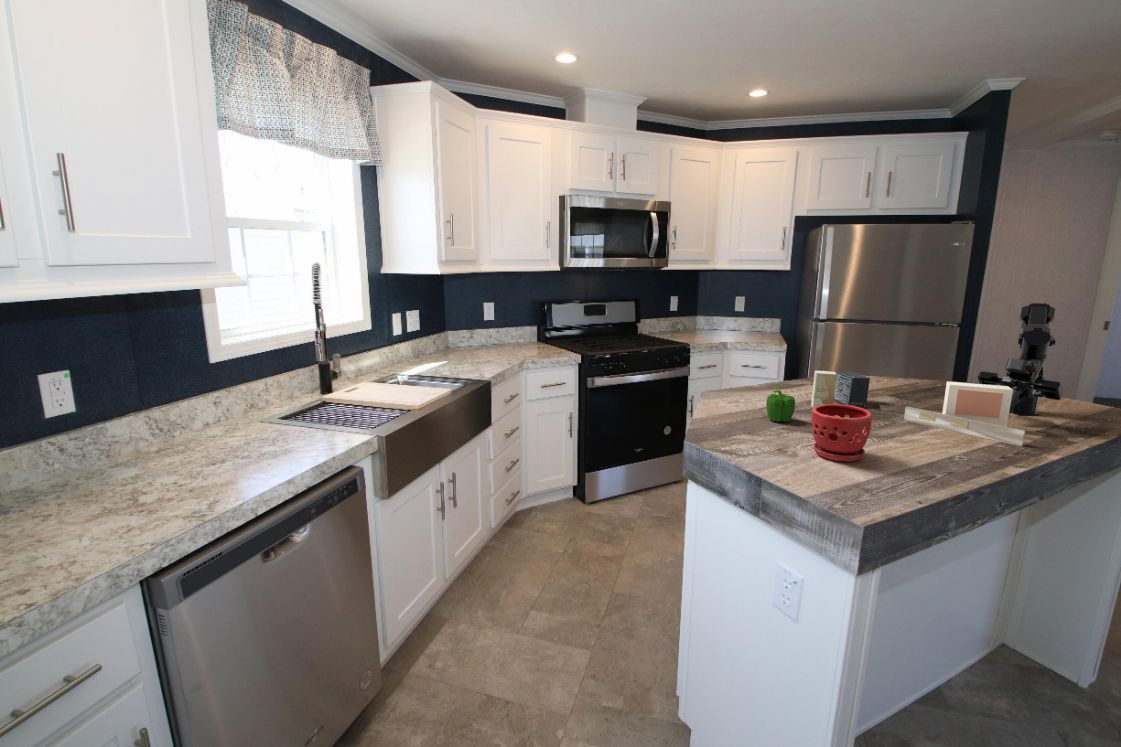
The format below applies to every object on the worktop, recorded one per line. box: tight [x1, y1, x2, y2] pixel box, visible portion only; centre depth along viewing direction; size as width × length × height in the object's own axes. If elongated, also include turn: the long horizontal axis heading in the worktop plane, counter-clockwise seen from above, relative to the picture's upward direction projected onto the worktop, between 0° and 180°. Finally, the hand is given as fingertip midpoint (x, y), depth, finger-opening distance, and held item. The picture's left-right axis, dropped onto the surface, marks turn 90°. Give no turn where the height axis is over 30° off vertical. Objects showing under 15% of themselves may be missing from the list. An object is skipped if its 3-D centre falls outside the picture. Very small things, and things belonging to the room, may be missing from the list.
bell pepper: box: [765, 388, 796, 423], centre depth 162 cm, size 8×8×10 cm
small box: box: [833, 371, 871, 409], centre depth 181 cm, size 11×6×10 cm, turn 179°
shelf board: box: [903, 406, 1048, 447], centre depth 151 cm, size 18×28×6 cm, turn 32°
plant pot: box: [811, 403, 872, 463], centre depth 132 cm, size 13×13×12 cm
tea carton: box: [941, 381, 1013, 427], centre depth 150 cm, size 10×14×12 cm
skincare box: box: [810, 370, 837, 409], centre depth 176 cm, size 6×4×12 cm
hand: (1006, 407), depth 152 cm, fingers closed
